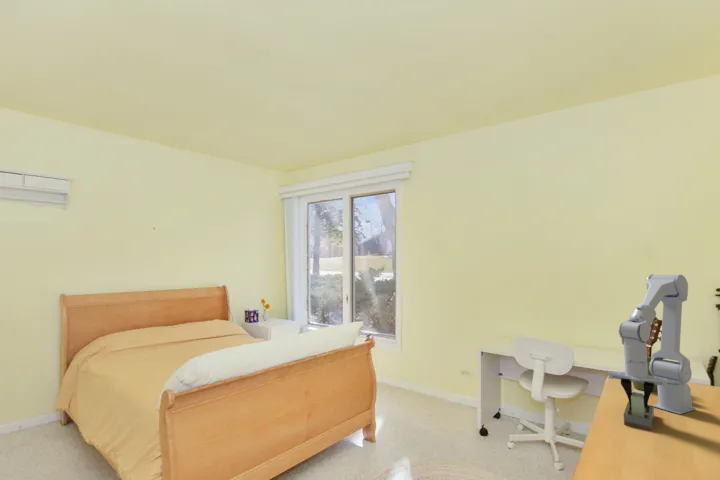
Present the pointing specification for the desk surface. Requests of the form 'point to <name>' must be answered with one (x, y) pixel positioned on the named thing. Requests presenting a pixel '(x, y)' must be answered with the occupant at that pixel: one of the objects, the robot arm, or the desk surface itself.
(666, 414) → the desk surface
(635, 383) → the plant pot
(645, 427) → the grey rectangular tray
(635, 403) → the pale green rectangular block
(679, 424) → the desk surface
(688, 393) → the robot arm
